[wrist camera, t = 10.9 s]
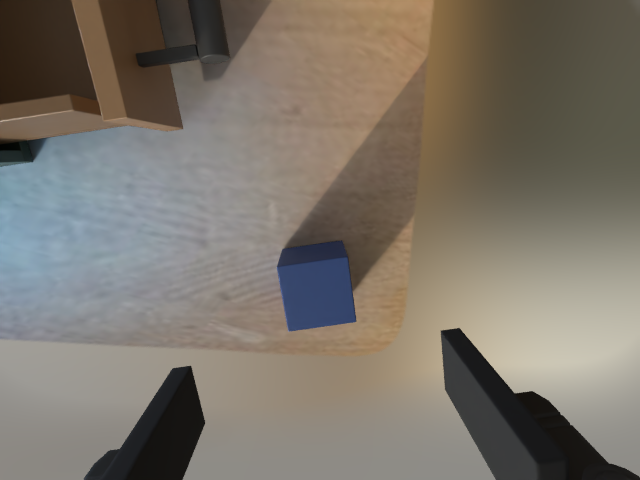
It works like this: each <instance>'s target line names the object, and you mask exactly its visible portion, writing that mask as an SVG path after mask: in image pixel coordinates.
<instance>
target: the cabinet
mask: <svg viewBox="0 0 640 480" xmlns="http://www.w3.org/2000/svg"><path fill="white" fill-rule="evenodd" d="M28 162H33V159H32V155H31V152H30V149H29V146H28V143H27V141H21V142H14V143H7V144H1V145H0V167H2V166H8V165H15V164H22V163H28Z"/></svg>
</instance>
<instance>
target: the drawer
mask: <svg viewBox="0 0 640 480" xmlns="http://www.w3.org/2000/svg"><path fill="white" fill-rule="evenodd" d="M188 5H189V10H190V15H191V20H192V25H193V30H194V35H195V40H196V45H197V46H196V45H188V46H182V47H175V48H169V49H166V47H165V42H164V38H163V33H162V29H161V24H160V20H159V15H158V10H157V6H156V1H155V0H0V145H1V144H7V143H14V142H21V141H27V140H34V139H41V138H47V137H54V136H61V135H67V134H74V133H81V132H87V131H94V130H101V129H107V128H114V127H121V126H127V125H130V126H136V127H142V128H149V129H155V130H161V131H172V130H179V129H183V125H182V120H181V116H180V111H179V106H178V102H177V97H176V93H175V88H174V84H173V79H172V74H171V70H170V65H169V64H172V63H178V62H185V61H192V60H198V59H199V60H200V61H201V62H203V63H221V62H225V61H227V60H229V59H230V54H229V49H228V43H227V38H226V32H225V27H224V21H223V16H222V10H221V5H220V0H188Z"/></svg>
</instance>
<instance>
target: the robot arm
mask: <svg viewBox="0 0 640 480" xmlns="http://www.w3.org/2000/svg"><path fill="white" fill-rule="evenodd" d="M441 340H442V354H443V367H444V380H445V390H446V392H447V394H448V395H449V397H450V399H451V401H452V403H453V404H454V406H455V408H456V410H457V411H458V413H459V415H460V417H461V419H462V420H463V422H464V424H465V426H466V427H467V429H468V431H469V433H470V435H471V436H472V438H473V440H474V442H475V443H476V445H477V447H478V449H479V451H480V452H481V454H482V456H483V458H484V459H485V461H486V463H487V465H488V467H489V468H490V470H491V472H492V474H493V475H494V477H495V479H496V480H640V477H639V476H637V475H636V474H634V473H632V472H630V471H629V470H627V469H625V468H622V467H619V466H616V465H614V464H609V463H608V462H607V461H606V460H605V459H604V458H603V457H602V456H601V455H600V454H599V453H598V452H597V451H596V450H595V449H594V448H593V447H592V446H591V445H590V443H588V441H587V440H585V438H584V437H583V436H582V435H581V434H580V433H579V432H578V431H577V430H576V429H575V428H574V427H573V426H572V425H570V423H569V422H568V421H567V419H566V418H565V417H564V416H562V415H561V414H560V412H558V410H557V409H556V408H555V407H554V406H553V405H552V404H551V403H550V402H549V401H548V400H547V399H545V398H543V397H541V396H540V395H538V394H536V393H534V392H533V391H530V392H523V393H516V394H515V393H514V392H513V391H512V390H511V389H510V387H509V386H508V385H507V384H506V383H505V382H504V380H503V379H502V378H501V377H500V376H499V375H498V373H497V372H496V371H495V370H494V369H493V367H492V366H491V365H490V364H489V363H488V361H487V360H486V359H485V358H484V357H483V356H482V354H481V353H480V352H479V351H478V350H477V348H476V347H475V346H474V345H473V344H472V343H471V341H470V340H469V339H468V338H467V337H466V335H465V334H464V333H463V332H462V331H461V329H460V328H457V329H450V330H443V331H441ZM204 425H205V420H204V416H203V412H202V408H201V404H200V400H199V396H198V392H197V388H196V384H195V380H194V376H193V372H192V368H191V366H186V367H179V368H173V369H172V370H171V372H170V374H169V375H168V376H167V378H166V380H165V381H164V383H163V384H162V386H161V387H160V389H159V390H158V392H157V393H156V395H155V396H154V398H153V399H152V401H151V402H150V404H149V406H148V407H147V409H146V410H145V412H144V413H143V415H142V416H141V418H140V419H139V421H138V422H137V424H136V425H135V427H134V428H133V430H132V431H131V433H130V435H129V436H128V438H127V439H126V441H125V442H124V444H123V445H122V447H121V448H120V449H117V450H110V451H108V452H107V453H106V454H105V455H104V456H103V457H102V458H100V459H99V460H98V461H97V462H96V463H95V464H94V465H93V467H92V468H91V469H90V471H89V472H88V474H87V475H86V476H85V478H84V480H182V479H183V477H184V475H185V472H186V469H187V467H188V465H189V462H190V459H191V457H192V454H193V452H194V449H195V447H196V445H197V442H198V440H199V437H200V434H201V432H202V430H203V427H204Z"/></svg>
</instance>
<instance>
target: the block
mask: <svg viewBox="0 0 640 480" xmlns="http://www.w3.org/2000/svg"><path fill="white" fill-rule="evenodd" d="M277 271H278V276H279V282H280V288H281V293H282V299H283V304H284V310H285V316H286V321H287V327H288V331H296V330H303V329H310V328H317V327H324V326H331V325H338V324H345V323H352V322H356V315H355V307H354V299H353V292H352V284H351V277H350V269H349V261H348V256H347V253H346V250H345V247H344V244H343V241H342V240H341V241H334V242H327V243H320V244H313V245H306V246H299V247H293V248H286V249H283V250H282V253H281V256H280V259H279V262H278V265H277Z"/></svg>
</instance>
